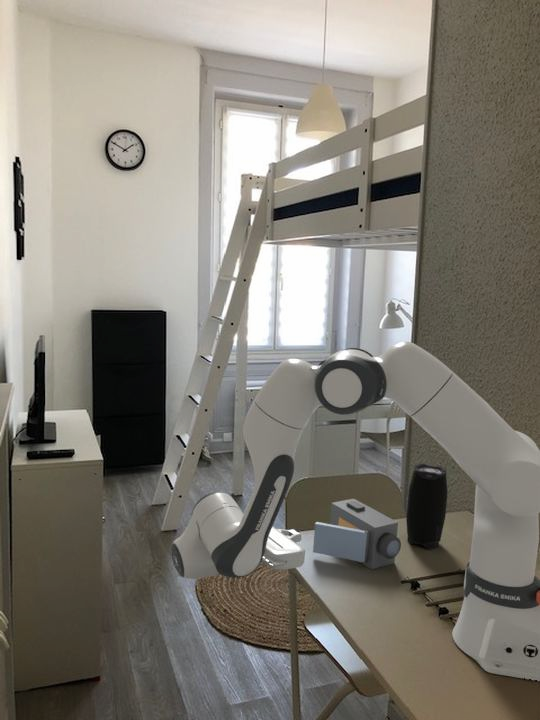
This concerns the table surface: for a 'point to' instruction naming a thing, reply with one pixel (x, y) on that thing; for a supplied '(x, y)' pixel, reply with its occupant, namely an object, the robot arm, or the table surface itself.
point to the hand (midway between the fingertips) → (297, 535)
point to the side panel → (341, 542)
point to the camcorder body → (368, 519)
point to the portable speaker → (426, 505)
